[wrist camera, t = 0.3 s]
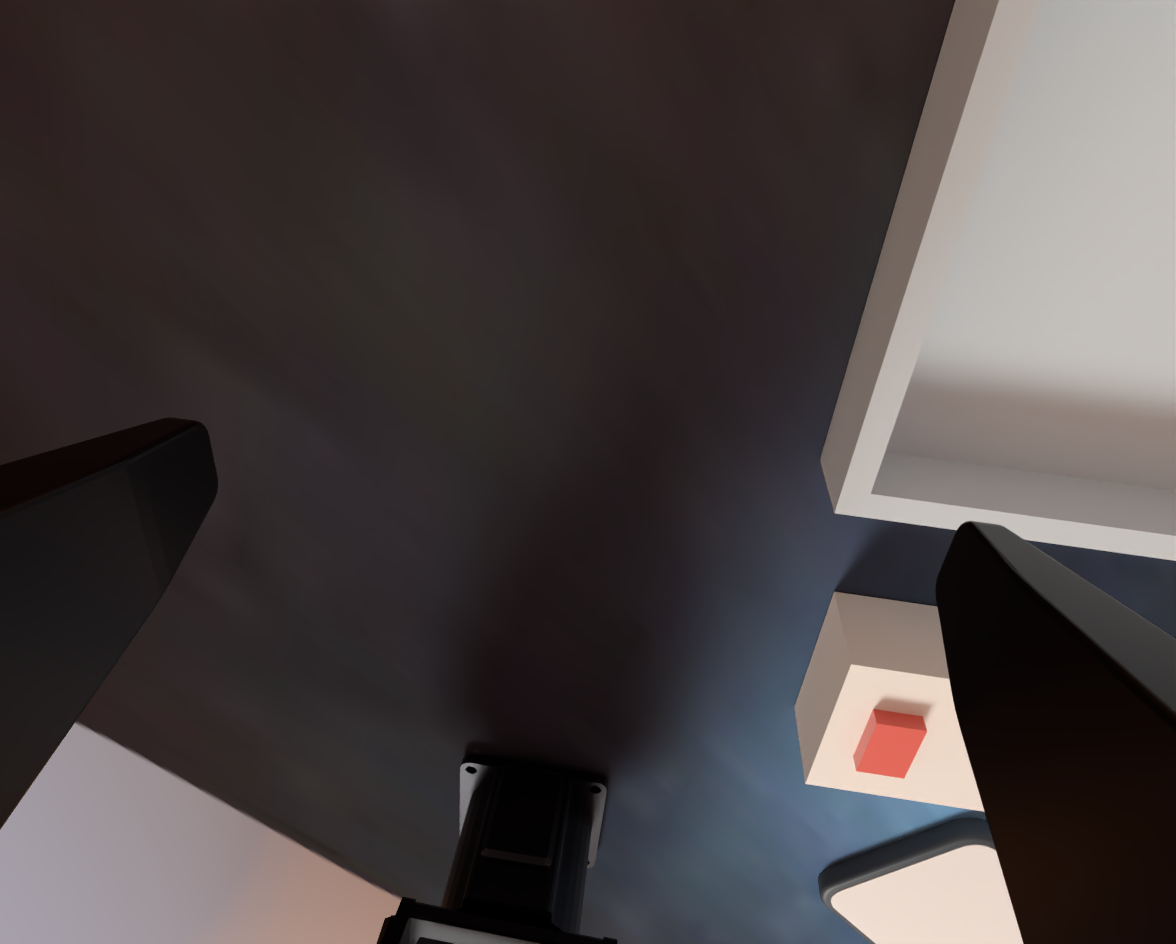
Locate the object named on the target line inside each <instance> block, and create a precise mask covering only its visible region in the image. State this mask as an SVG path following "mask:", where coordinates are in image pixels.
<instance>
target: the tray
mask: <svg viewBox="0 0 1176 944" xmlns="http://www.w3.org/2000/svg"><path fill="white" fill-rule="evenodd" d="M820 462H821V466H822V469H823V473H824V477H825V480H826V484H827V488H828V491H829V495H830V499H831V503H832V506H833V510H834V513H837V514H844V515H851V516H858V517H866V518H873V519H880V520H887V521H894V522H901V523H909V524H916V525H923V526H930V527H937V528H944V529H952V530H957V529H958V528H959V527H960V525H961V524H963V523H964V522H966V521H976V522H984V523H992V524H998V525H1002V526H1004V527H1006V528H1007V529H1009V530H1010V531H1012V532H1013V533H1015V534H1016V535H1018V536H1019V537H1021V538H1022V539H1024V540H1030V541H1038V542H1045V543H1052V544H1059V545H1066V546H1074V547H1081V548H1088V549H1095V550H1102V551H1109V552H1117V553H1124V554H1131V555H1138V556H1145V557H1152V558H1160V559H1167V560H1174V561H1176V0H955V3H954V7H953V10H952V14H951V17H950V20H949V24H948V27H947V30H946V34H945V37H944V41H943V44H942V47H941V51H940V54H939V58H938V61H937V64H936V68H935V71H934V74H933V78H932V81H931V85H930V88H929V91H928V95H927V98H926V102H925V105H924V108H923V112H922V115H921V119H920V122H919V125H918V129H917V132H916V135H915V139H914V142H913V146H912V149H911V152H910V156H909V159H908V163H907V166H906V169H905V173H904V176H903V179H902V183H901V186H900V190H899V193H898V196H897V200H896V203H895V207H894V210H893V213H892V217H891V220H890V224H889V227H888V230H887V234H886V237H885V240H884V244H883V247H882V251H881V254H880V257H879V261H878V264H877V268H876V271H875V274H874V278H873V281H872V284H871V288H870V291H869V295H868V298H867V301H866V305H865V308H864V312H863V315H862V318H861V322H860V325H859V329H858V332H857V335H856V339H855V342H854V345H853V349H852V352H851V356H850V359H849V362H848V366H847V369H846V373H845V376H844V379H843V383H842V386H841V389H840V393H839V396H838V400H837V403H836V406H835V410H834V413H833V417H832V420H831V423H830V427H829V430H828V434H827V437H826V440H825V444H824V447H823V450H822V454H821V457H820Z"/></svg>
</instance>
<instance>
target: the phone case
mask: <svg viewBox="0 0 1176 944" xmlns="http://www.w3.org/2000/svg"><path fill="white" fill-rule="evenodd" d="M818 884H819V892H820V897H821V900H822V902H823V903H824V904H825V905H826V906H827V907H828V908H829V909H830V910H831V911H833V912H834V913H835V914H836V915H837V916H839V917H840V918H841V919H842V920H843V921H844V922H846V923H847V924H848V925H849V926H850V927H852V928H853V929H854V930H855V931H856V932H857V933H859V934H860V935H861V936H862V937H863V938H865V939H866V940H867V941H868V942H869V943H870V944H1023V941H1022V937H1021V934H1020V931H1019V927H1018V924H1017V920H1016V917H1015V914H1014V910H1013V907H1012V903H1011V900H1010V897H1009V893H1008V890H1007V886H1006V883H1005V880H1004V876H1003V873H1002V869H1001V866H1000V863H999V859H998V856H997V852H996V849H995V846H994V842H993V839H992V835H991V832H990V829H989V825H988V822H987V821H986V820H983V819H977V818H961V819H956V820H953V821H950V822H947V823H944V824H942V825H939V826H936V827H934V828H931V829H928V830H926V831H923V832H920V833H918V834H915V835H912V836H910V837H907V838H904V839H902V840H899V841H896V842H894V843H891V844H888V845H886V846H883V847H880V848H878V849H875V850H872V851H870V852H867V853H864V854H862V855H859V856H857V857H854V858H851V859H849V860H846V861H843V862H841V863H838V864H835V865H833V866H830V867H828V868H826V869H824V870H823V871H822V872H821V873H820V875H819V877H818Z"/></svg>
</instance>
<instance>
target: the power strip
mask: <svg viewBox="0 0 1176 944" xmlns="http://www.w3.org/2000/svg"><path fill="white" fill-rule="evenodd" d="M794 708H795V715H796V722H797V729H798V736H799V743H800V750H801V757H802V764H803V771H804V778H805V784H810V785H817V786H823V787H830V788H836V789H842V790H849V791H855V792H862V793H868V794H874V795H881V796H887V797H894V798H900V799H906V800H913V801H919V802H926V803H932V804H938V805H945V806H951V807H958V808H964V809H970V810H977V811H983V812H984V808H983V805H982V801H981V798H980V795H979V791H978V788H977V784H976V781H975V778H974V774H973V771H972V767H971V764H970V761H969V757H968V754H967V750H966V747H965V744H964V740H963V737H962V734H961V730H960V726H959V723H958V719H957V715H956V711H955V707H954V702H953V697H952V692H951V686H950V680H949V674H948V668H947V662H946V656H945V650H944V644H943V637H942V631H941V625H940V619H939V613H938V607H937V606H930V605H923V604H916V603H910V602H903V601H896V600H889V599H882V598H875V597H868V596H861V595H854V594H847V593H840V592H834V593H833V596H832V599H831V602H830V605H829V608H828V611H827V614H826V617H825V620H824V622H823V625H822V628H821V631H820V634H819V637H818V640H817V643H816V646H815V649H814V652H813V654H812V657H811V660H810V663H809V666H808V669H807V672H806V675H805V678H804V681H803V684H802V686H801V689H800V692H799V695H798V698H797V701H796V704H795V707H794Z"/></svg>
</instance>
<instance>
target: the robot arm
mask: <svg viewBox="0 0 1176 944" xmlns="http://www.w3.org/2000/svg"><path fill="white" fill-rule="evenodd" d="M217 489H218V477H217V472H216V467H215V462H214V458H213V453H212V448H211V443H210V438H209V434H208V431H207V429H206V427H205V426H204V425H203V424H202V423H200V422H198V421H194V420H187V419H179V418H163V419H160V420H156V421H153V422H149V423H146V424H142V425H139V426H135V427H132V428H128V429H125V430H121V431H118V432H114V433H111V434H107V435H104V436H100V437H97V438H93V439H90V440H86V441H83V442H79V443H76V444H72V445H69V446H65V447H62V448H59V449H55V450H52V451H48V452H45V453H41V454H38V455H34V456H31V457H27V458H24V459H20V460H17V461H13V462H10V463H6V464H3V465H0V829H1V828H2V826H3V825H4V823H5V822H6V821H7V819H8V817H9V816H10V815H11V813H12V812H13V810H14V809H15V808H16V806H17V805H18V803H19V802H20V800H21V799H22V798H23V796H24V795H25V793H26V792H27V790H28V789H29V788H30V786H31V785H32V783H33V782H34V780H35V779H36V777H37V776H38V774H39V773H40V772H41V770H42V769H43V767H44V766H45V765H46V763H47V762H48V760H49V759H50V757H51V756H52V754H53V753H54V752H55V750H56V749H57V747H58V746H59V744H60V743H61V741H62V740H63V739H64V737H65V736H66V734H67V733H68V731H69V730H70V729H71V727H72V726H73V724H74V723H75V721H76V720H77V719H78V717H79V716H80V714H81V713H82V711H83V710H84V708H85V707H86V706H87V704H88V703H89V701H90V700H91V698H92V697H93V696H94V694H95V693H96V691H97V690H98V688H99V687H100V685H101V684H102V683H103V681H104V680H105V678H106V677H107V675H108V674H109V673H110V671H111V670H112V668H113V667H114V665H115V664H116V662H117V661H118V660H119V658H120V657H121V655H122V654H123V652H124V651H125V649H126V648H127V647H128V645H129V644H130V642H131V641H132V639H133V638H134V637H135V635H136V634H137V632H138V631H139V629H140V628H141V626H142V625H143V624H144V622H145V621H146V619H147V618H148V616H149V615H150V614H151V612H152V610H153V609H154V607H155V606H156V604H157V603H158V601H159V600H160V598H161V597H162V595H163V593H164V591H165V590H166V588H167V586H168V585H169V583H170V581H171V580H172V578H173V576H174V574H175V572H176V570H177V568H178V567H179V565H180V563H181V561H182V559H183V557H184V555H185V554H186V552H187V550H188V548H189V546H190V544H191V543H192V541H193V539H194V537H195V535H196V533H197V531H198V530H199V528H200V526H201V524H202V522H203V520H204V518H205V517H206V515H207V513H208V511H209V509H210V507H211V505H212V504H213V502H214V500H215V497H216V494H217ZM936 601H937V607H938V613H939V619H940V625H941V631H942V637H943V644H944V650H945V656H946V662H947V668H948V674H949V680H950V686H951V692H952V697H953V702H954V707H955V711H956V715H957V719H958V723H959V726H960V730H961V734H962V737H963V740H964V744H965V747H966V750H967V754H968V757H969V761H970V764H971V767H972V771H973V774H974V778H975V781H976V784H977V788H978V791H979V795H980V798H981V801H982V805H983V808H984V812H985V815H986V818H987V822H988V825H989V829H990V832H991V835H992V839H993V842H994V846H995V849H996V852H997V856H998V859H999V863H1000V866H1001V869H1002V873H1003V876H1004V880H1005V883H1006V886H1007V890H1008V893H1009V897H1010V900H1011V903H1012V907H1013V910H1014V914H1015V917H1016V920H1017V924H1018V927H1019V931H1020V934H1021V937H1022V941H1023V944H1176V639H1175V638H1174V637H1172V636H1171V635H1169V634H1168V633H1166V632H1165V631H1163V630H1162V629H1160V628H1158V627H1157V626H1155V625H1154V624H1152V623H1151V622H1149V621H1148V620H1146V619H1145V618H1143V617H1142V616H1140V615H1139V614H1137V613H1136V612H1134V611H1133V610H1131V609H1129V608H1128V607H1126V606H1125V605H1123V604H1122V603H1120V602H1119V601H1117V600H1116V599H1114V598H1113V597H1111V596H1110V595H1108V594H1107V593H1105V592H1103V591H1102V590H1100V589H1099V588H1097V587H1096V586H1094V585H1093V584H1091V583H1090V582H1088V581H1087V580H1085V579H1084V578H1082V577H1081V576H1079V575H1077V574H1076V573H1074V572H1073V571H1071V570H1070V569H1068V568H1067V567H1065V566H1064V565H1062V564H1061V563H1059V562H1058V561H1056V560H1055V559H1053V558H1052V557H1050V556H1048V555H1047V554H1045V553H1044V552H1042V551H1041V550H1039V549H1038V548H1036V547H1035V546H1033V545H1032V544H1030V543H1029V542H1027V541H1026V540H1024V539H1022V538H1021V537H1019V536H1018V535H1016V534H1015V533H1013V532H1012V531H1010V530H1009V529H1007V528H1006V527H1004V526H1002V525H998V524H992V523H984V522H976V521H966V522H964V523H963V524H961V525H960V527H959V528H958V529H957V531H956V533H955V535H954V538H953V540H952V543H951V545H950V547H949V550H948V552H947V555H946V557H945V560H944V562H943V564H942V567H941V569H940V572H939V574H938V577H937V581H936ZM607 786H608V782H607V780H606V779H605V778H604V777H603V776H600V775H596V774H589V773H583V772H577V771H570V770H564V769H558V768H551V767H545V766H539V765H532V764H526V763H520V762H513V761H507V760H501V759H494V758H488V757H481V756H475V755H468V756H465V757H464V758H463V760H462V764H461V767H460V838H459V842H458V845H457V849H456V853H455V856H454V860H453V864H452V867H451V871H450V875H449V878H448V882H447V885H446V889H445V893H444V896H443V900H442V904H441V907H439V906H434V905H429V904H424V903H419V902H416V899H412V898H407V897H402V900H401V902H400V905H399V908H398V910H397V913H396V915H394V916H393V915H392V916H391V917H388V918H385V920H384V923H383V926H382V929H381V932H380V935H379V938H378V941H377V944H617V939H613V938H608V937H604V938H603V939H600V938H595V937H590V936H585V935H580V934H579V930H580V922H581V914H582V906H583V897H584V889H585V881H586V872H587V868H591V867H593V866H594V864H595V859H596V853H597V848H598V842H599V836H600V830H601V824H602V818H603V812H604V806H605V800H606V794H607Z"/></svg>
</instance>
